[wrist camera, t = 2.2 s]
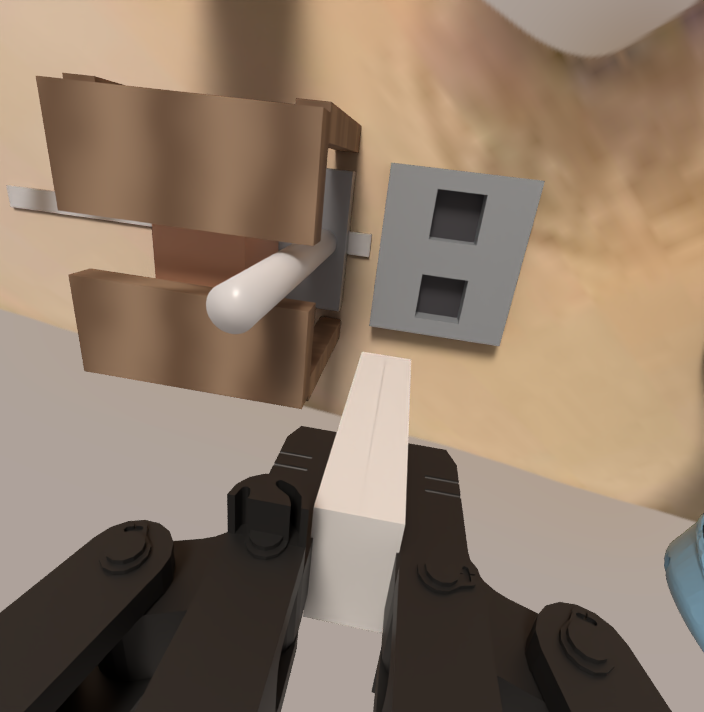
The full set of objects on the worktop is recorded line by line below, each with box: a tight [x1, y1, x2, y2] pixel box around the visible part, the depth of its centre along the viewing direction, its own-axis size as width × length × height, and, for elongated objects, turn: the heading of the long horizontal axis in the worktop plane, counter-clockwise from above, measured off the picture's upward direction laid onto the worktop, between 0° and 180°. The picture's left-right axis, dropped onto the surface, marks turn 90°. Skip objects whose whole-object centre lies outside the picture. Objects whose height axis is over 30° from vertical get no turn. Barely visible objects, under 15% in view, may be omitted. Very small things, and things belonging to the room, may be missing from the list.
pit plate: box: [369, 163, 545, 346], centre depth 37 cm, size 12×14×2 cm
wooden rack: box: [6, 73, 372, 409], centre depth 34 cm, size 36×19×15 cm, turn 84°
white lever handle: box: [152, 168, 355, 334], centre depth 29 cm, size 16×12×21 cm
